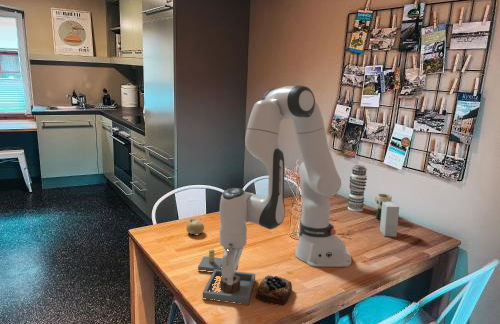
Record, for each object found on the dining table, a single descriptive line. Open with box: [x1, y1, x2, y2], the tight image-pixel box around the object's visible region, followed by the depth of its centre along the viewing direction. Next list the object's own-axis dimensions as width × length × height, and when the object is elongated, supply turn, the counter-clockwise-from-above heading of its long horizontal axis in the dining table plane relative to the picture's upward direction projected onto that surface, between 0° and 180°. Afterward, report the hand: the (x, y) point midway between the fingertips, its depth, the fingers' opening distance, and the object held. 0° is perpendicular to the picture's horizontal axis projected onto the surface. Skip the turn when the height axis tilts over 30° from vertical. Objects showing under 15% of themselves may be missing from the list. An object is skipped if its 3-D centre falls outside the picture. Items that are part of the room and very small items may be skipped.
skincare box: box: [379, 201, 400, 238], centre depth 171 cm, size 8×6×15 cm
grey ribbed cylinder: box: [347, 164, 368, 212], centre depth 203 cm, size 9×9×25 cm
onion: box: [186, 218, 205, 235], centre depth 165 cm, size 8×8×7 cm
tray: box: [202, 269, 256, 305], centre depth 122 cm, size 15×15×2 cm
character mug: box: [374, 193, 393, 221], centre depth 190 cm, size 11×7×13 cm, turn 31°
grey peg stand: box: [197, 248, 223, 271], centre depth 135 cm, size 8×8×7 cm
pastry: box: [255, 274, 293, 306], centre depth 120 cm, size 11×12×6 cm
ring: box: [220, 274, 240, 293], centre depth 122 cm, size 6×6×4 cm
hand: (233, 276), depth 121 cm, fingers open, 8 cm apart
